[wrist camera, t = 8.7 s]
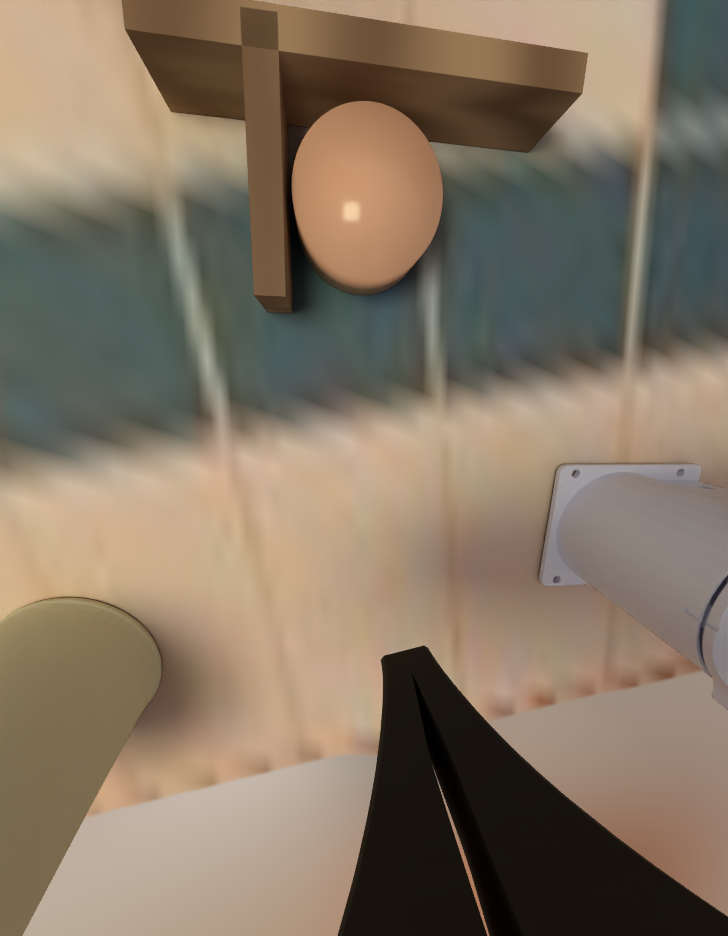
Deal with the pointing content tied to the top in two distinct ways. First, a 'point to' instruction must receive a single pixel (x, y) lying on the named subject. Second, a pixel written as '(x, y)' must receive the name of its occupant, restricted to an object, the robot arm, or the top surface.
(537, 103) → the mortise joint
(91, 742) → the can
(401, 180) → the tan rounded pebble
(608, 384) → the top surface
